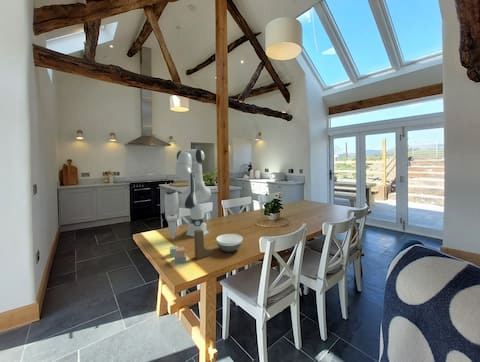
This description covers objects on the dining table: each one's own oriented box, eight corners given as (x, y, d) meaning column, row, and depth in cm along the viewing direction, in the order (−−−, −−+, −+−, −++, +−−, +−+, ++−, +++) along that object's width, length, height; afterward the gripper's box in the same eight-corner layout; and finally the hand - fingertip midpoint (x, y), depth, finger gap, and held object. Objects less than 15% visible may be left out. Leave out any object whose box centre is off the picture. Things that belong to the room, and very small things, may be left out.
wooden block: (206, 253, 154) (205, 227, 152) (210, 255, 150) (209, 229, 148) (194, 257, 148) (193, 230, 146) (198, 259, 144) (197, 232, 142)
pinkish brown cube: (176, 255, 145) (176, 248, 144) (184, 254, 146) (184, 247, 146) (176, 259, 140) (176, 251, 139) (184, 258, 141) (184, 250, 141)
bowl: (211, 248, 163) (211, 236, 162) (233, 242, 173) (233, 232, 172) (224, 257, 147) (224, 245, 146) (247, 251, 157) (247, 239, 156)
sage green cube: (170, 253, 154) (170, 246, 153) (178, 252, 155) (177, 245, 154) (170, 256, 149) (169, 249, 148) (178, 256, 150) (177, 248, 150)
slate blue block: (174, 258, 146) (174, 255, 145) (186, 257, 147) (186, 253, 147) (174, 263, 139) (174, 260, 139) (186, 262, 141) (186, 258, 140)
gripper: (168, 212, 158) (169, 231, 159) (166, 219, 138) (167, 241, 139) (177, 211, 160) (178, 230, 161) (177, 218, 140) (178, 240, 141)
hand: (173, 235), depth 150 cm, fingers open, 8 cm apart
